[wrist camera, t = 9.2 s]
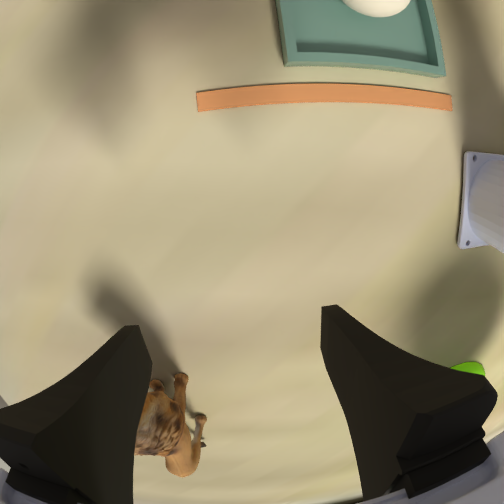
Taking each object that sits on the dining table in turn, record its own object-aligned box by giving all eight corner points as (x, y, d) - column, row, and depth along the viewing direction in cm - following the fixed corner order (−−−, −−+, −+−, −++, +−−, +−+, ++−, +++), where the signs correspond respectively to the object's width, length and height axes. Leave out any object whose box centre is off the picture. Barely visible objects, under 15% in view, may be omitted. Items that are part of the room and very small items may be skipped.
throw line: (450, 95, 16) (451, 95, 16) (451, 111, 17) (452, 110, 17) (196, 93, 16) (196, 93, 16) (198, 111, 17) (198, 111, 17)
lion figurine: (116, 351, 23) (83, 433, 15) (171, 341, 23) (149, 433, 15) (184, 443, 29) (178, 510, 20) (229, 438, 28) (230, 509, 20)
